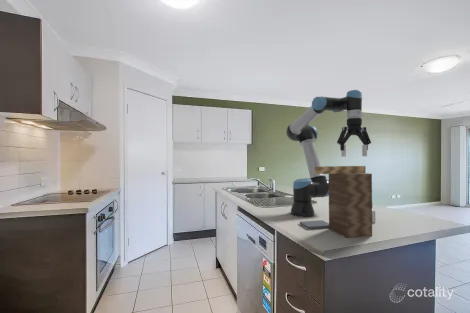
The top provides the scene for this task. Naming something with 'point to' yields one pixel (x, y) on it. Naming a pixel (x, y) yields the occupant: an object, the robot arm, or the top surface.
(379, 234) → the top surface
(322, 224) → the mat
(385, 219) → the top surface
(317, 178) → the robot arm
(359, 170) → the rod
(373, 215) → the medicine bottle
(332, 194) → the stand
